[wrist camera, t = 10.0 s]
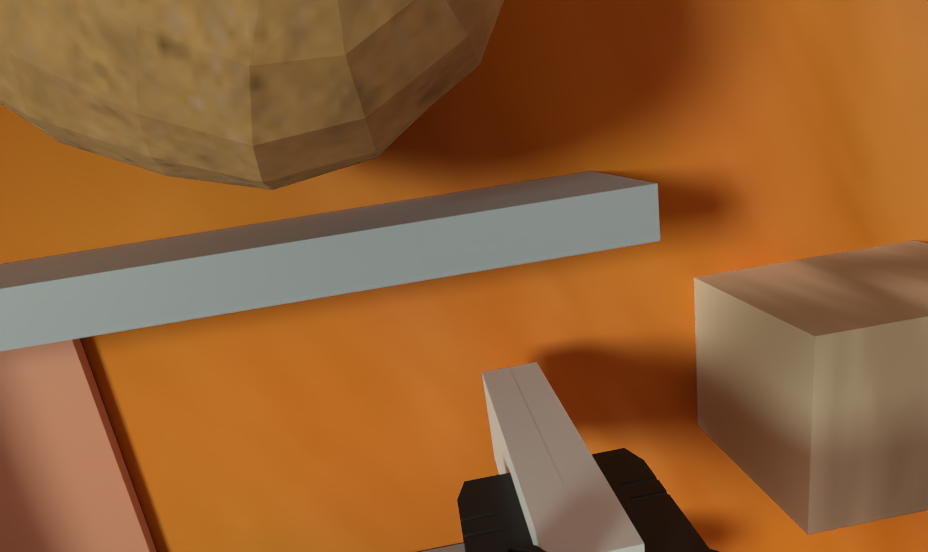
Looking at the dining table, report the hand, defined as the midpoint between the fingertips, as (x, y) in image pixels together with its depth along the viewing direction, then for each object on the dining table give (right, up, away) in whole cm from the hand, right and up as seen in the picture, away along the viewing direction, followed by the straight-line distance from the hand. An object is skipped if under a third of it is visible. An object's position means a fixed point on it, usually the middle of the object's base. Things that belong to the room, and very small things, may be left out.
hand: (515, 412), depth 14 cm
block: (+6, +1, 0) cm, 6 cm away
